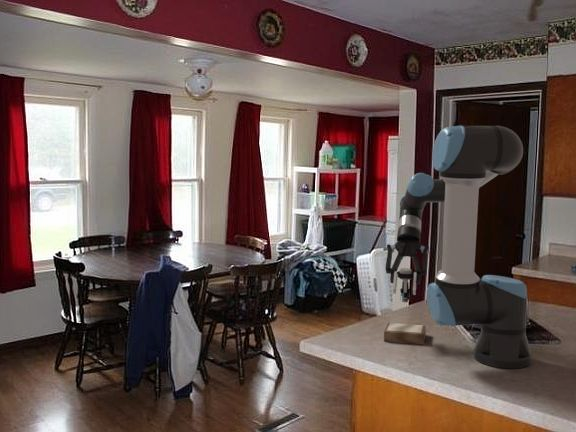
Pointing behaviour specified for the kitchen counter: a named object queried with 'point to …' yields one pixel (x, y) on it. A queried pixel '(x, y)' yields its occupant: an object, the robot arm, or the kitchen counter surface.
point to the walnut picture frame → (405, 333)
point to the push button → (405, 283)
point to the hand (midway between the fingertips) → (404, 291)
